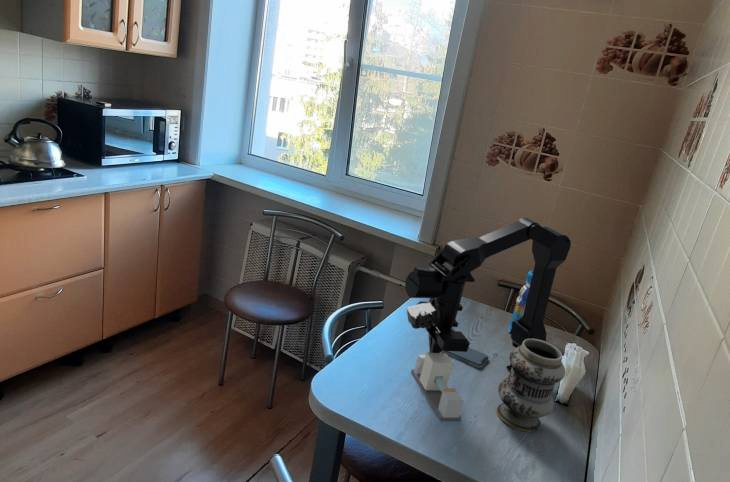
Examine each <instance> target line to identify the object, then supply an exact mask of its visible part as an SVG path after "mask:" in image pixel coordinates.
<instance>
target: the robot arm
mask: <svg viewBox="0 0 730 482" xmlns="http://www.w3.org/2000/svg"><path fill="white" fill-rule="evenodd" d="M530 240H531V241H532V244H531V252H532V256H533V257H532V258H533V260H534V268H533V270H532V271H533V275H532V279H531V284H530V288H529V292H528V297H527V301H526V305H525V309H524V314H523V316H522V317H521V318H520V319H518V320H517V321H515V320H514V321H513V322H512V328H511V331H510V332H508V334H509V335H510V339H511V342H512V343H511V344H512V345H511V346H512V347H514V349H515V348H516V347H519V346H521V345H522V342H523V341H524V340H526V339H539V340H542V341H545V342H547V334H548V333H547V330H546V327H545V322H544V321H545V320H544V319H545V315H546V312H547V311H546V310H547V307H548V304H549V299H550V295H551V291H552V289H553V288H552V287H553V283H554V280H555V279H554V278H555V275H556V272H557V268H559V267H560V266H561V265H562V264H563V263H564V262H565V261H566V260H567V256H568V255H569V251H570V249H571V246H572V241H571V240H570V238H569V236H567V235H566V234H564V233H561V232H560V231H557V230H556V229H554V228H551V227H550V226H542V225H541V224H540V223H538V222H537V221H534V220H532V219H530V218H528V217H521V218H519V219H518V220H517V221H516V222H513V223H511V224H508V225H505V226H503V227H501V228H498V229H496V230H493V231H490V232H489V233H487V234H483V235H482V236H479V237H474V238H460V239H454V240H451V241H448V242H447V243H446V244H445V245H444V247H443V249H442V250H441V251H440V252H439V253H438V254H437V255H436V256H435V257H434V258H433V259H432V260H431V261H430V262H429V263H428V266H429V267H422V266H414V268H413V271H410V272H409V273H408V275H407V276H406V277H405V282H404V283H405V285H404V286H405V293H406V295H407V297H409V298H410V299H428V300H429V301H419V302H417V303H416V304H415V305H411V306H408V307H406V314H407V321H408V323H409V324H410V325H411V327H412V329H414V330H415V329H416V330H417V329H425V330H426V331H427V333H428V334H427V335H428V344H429V345H428V346H429V347H428V348H429V350H428V351H429V353H442V352H441V351H442V350H444V351H459V352H467V351H468V348H470V345H471V342H470V340H468V338H467V337H466V336H465V335H464V334H463V332H462V331H457V330H456V329H455V328H458V326H459V322H458V321H457V320H456V319H457V316H458V312H462V311H463V308H464V307H463V305H462V304H461V302H462V297H463V294H464V289H465V287H466V283H474V282H476V279H475V278H474V277H473V276H472V272H473V271H474V270H477V269H478V268H479V267H481V266H482V265H483V263H484V261H485V260H487V259H489V257H492V256H494V255H497V254H499V253H502V252H504V251H506V250H509V249H512V248H513V247H515V246H518V245H520V244H523V243H526V242H527V241H530ZM444 264H446V266H448V267H449V268H450V269H449V268H448V267H446V266H445V265H444ZM506 369H507V371H509V373H510V372H511V369H512V365H511V363H510V364H509V365H506Z"/></svg>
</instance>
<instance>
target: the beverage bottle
mask: <svg viewBox="0 0 730 482" xmlns="http://www.w3.org/2000/svg"><path fill="white" fill-rule="evenodd" d="M533 271H534V270H529V271H528V273H527V275H526V279H525V283H526V284H524V285H523V286H522V287H521V289H520V290H519V295H518V297H516V301H515V306H514V309H513V312H512V316H511V319H510V322H509V325H508V328H507V330H508V333H510V331H511V328H512V322H513V321H514V320H515V321H517V320H518V319H520V318H521V317H522V316H523V314H524V309H525V305H526V301H527V297H528V292H529V288H530V284H531V279H532V275H533Z"/></svg>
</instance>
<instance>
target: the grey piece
mask: <svg viewBox="0 0 730 482" xmlns="http://www.w3.org/2000/svg"><path fill="white" fill-rule="evenodd" d="M425 356H426V354H418V355H417V359H416V364H415V366H414V369H411V372H410V373H411V375H412V376H413V378H414V380H415V382H416V383H417V384H418V387H419V389H420V390H421V392H422V393H423V395H424V397H425V398H426V400H427V402H428V404H429V406H430V407H431V409H432V410H433V413H434V414H435V416H436V417H437V419H438V421H439V422H443V421H444V422H445V421H446V422H449V421H450V422H453V421H455V422H456V421H458V422H459V421H462V416H461V414H460V413H461V411H462V407H463V404H464V398H463V397H462V395H461V394H460V393H459V391H456V389H455V388H452V387H451V388H449V387H448V384H447V385H446V384H445V382H444V381H443V379H442V378H441V376H436V377H435V382H436V384H437V385H438V387H439V389H440V390H425V389H424V387H423V385H422V384H421V382H420V380H419V379H420V376H421V372H422V368H423V364H424V360H425Z"/></svg>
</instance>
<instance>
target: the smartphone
mask: <svg viewBox="0 0 730 482" xmlns="http://www.w3.org/2000/svg"><path fill="white" fill-rule="evenodd" d="M440 353H446V354H447V355H448V357H450V358H453V359H455V360H458V361H460V362H462V363H465V364H466V365H469V366H472V367H474V368H476V369H481V368H482V367H483V366H484V365H485V364H486V363H487V361H489V355H487V354H486V353H483V352H481V351H479V350H476V349H474V348H471V347H469V348H468V351H467V352H459V351H444V350H442V351H441V352H440Z"/></svg>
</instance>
